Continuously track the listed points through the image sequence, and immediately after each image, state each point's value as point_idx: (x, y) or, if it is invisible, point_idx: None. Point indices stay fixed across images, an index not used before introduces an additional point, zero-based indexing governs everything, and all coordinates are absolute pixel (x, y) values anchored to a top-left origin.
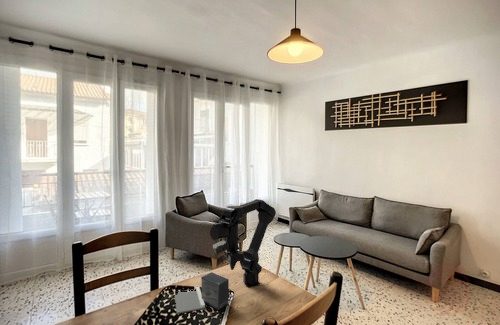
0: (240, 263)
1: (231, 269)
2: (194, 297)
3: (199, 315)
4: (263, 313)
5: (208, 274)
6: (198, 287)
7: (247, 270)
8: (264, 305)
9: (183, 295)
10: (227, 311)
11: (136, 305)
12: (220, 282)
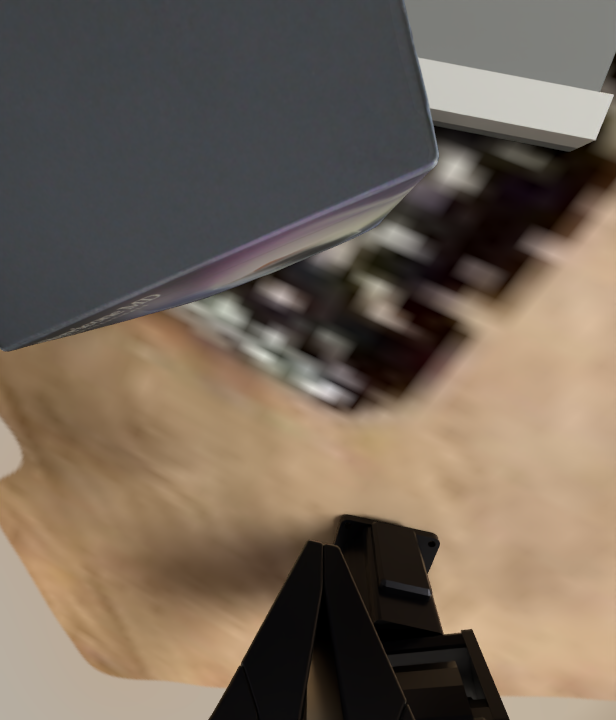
0: (467, 714)
1: (306, 547)
2: (433, 28)
3: None
4: (24, 434)
5: (355, 10)
6: (574, 123)
7: (396, 649)
8: (97, 480)
9: None
10: None
11: None
12: None
